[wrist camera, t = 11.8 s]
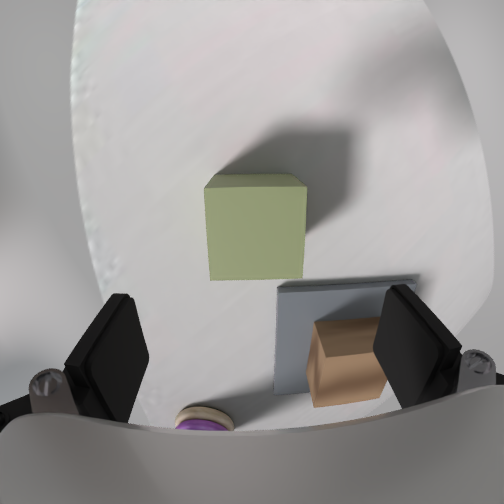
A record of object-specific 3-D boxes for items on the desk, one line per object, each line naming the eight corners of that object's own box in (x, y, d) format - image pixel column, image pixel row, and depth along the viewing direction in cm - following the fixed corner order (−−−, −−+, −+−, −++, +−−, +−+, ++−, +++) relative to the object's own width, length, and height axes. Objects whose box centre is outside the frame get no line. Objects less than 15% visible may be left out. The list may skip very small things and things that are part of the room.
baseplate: (277, 287, 26) (278, 292, 25) (412, 279, 26) (416, 283, 25) (273, 388, 31) (274, 395, 30) (382, 375, 31) (384, 381, 30)
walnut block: (313, 321, 26) (325, 357, 21) (380, 316, 26) (400, 348, 22) (305, 372, 29) (313, 407, 24) (365, 366, 29) (379, 397, 24)
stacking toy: (239, 408, 33) (239, 544, 15) (229, 437, 36) (226, 549, 18) (177, 398, 32) (154, 533, 14) (175, 428, 35) (158, 541, 17)
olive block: (214, 174, 22) (203, 188, 16) (291, 173, 22) (307, 186, 16) (217, 246, 24) (210, 280, 19) (289, 244, 24) (302, 278, 19)
